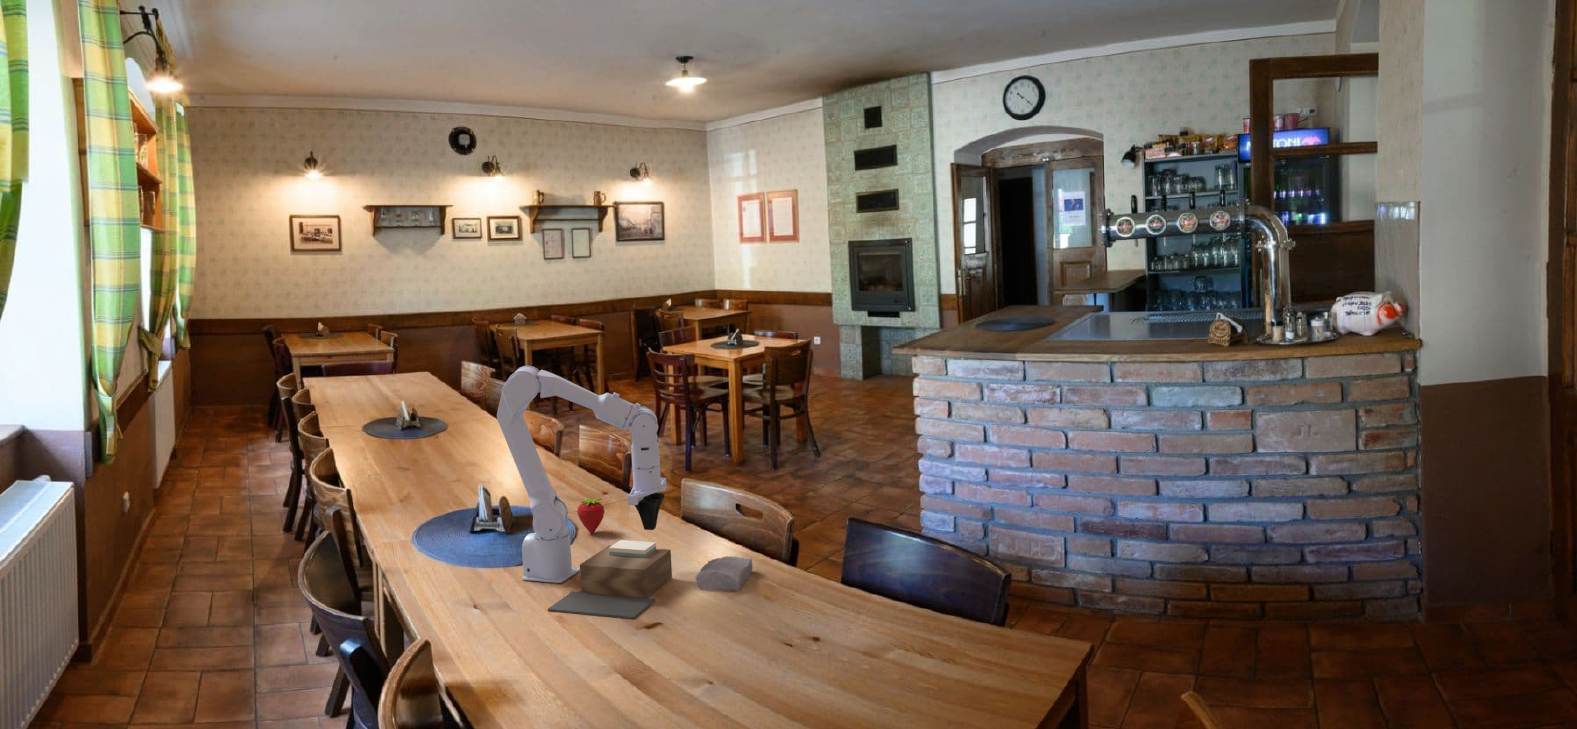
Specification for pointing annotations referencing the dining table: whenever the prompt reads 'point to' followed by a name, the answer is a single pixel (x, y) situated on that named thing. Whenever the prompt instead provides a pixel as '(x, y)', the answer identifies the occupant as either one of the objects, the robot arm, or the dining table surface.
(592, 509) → the strawberry
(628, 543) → the teal and white sponge
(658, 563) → the riser
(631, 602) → the mat
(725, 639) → the dining table surface
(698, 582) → the stone block
